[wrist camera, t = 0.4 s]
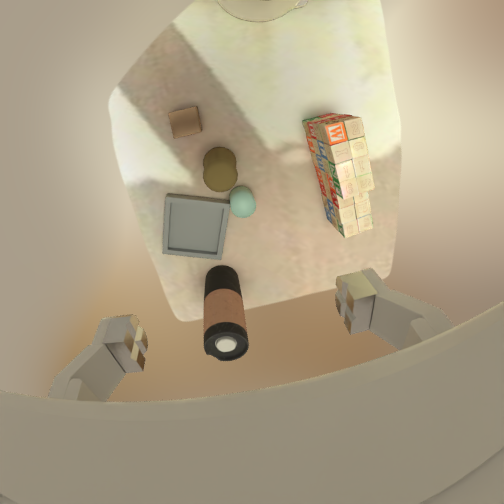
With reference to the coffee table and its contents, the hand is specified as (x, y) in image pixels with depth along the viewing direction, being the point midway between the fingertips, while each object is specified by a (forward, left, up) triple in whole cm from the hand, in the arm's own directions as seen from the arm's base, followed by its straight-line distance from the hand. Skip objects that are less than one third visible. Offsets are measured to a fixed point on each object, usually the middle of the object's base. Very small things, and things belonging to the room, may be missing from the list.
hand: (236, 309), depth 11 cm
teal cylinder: (+9, +5, -43) cm, 44 cm away
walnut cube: (-4, -7, -43) cm, 44 cm away
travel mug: (+28, +4, -43) cm, 52 cm away
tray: (+16, -3, -43) cm, 46 cm away
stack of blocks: (0, +22, -43) cm, 48 cm away
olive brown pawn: (+3, 0, -43) cm, 43 cm away
